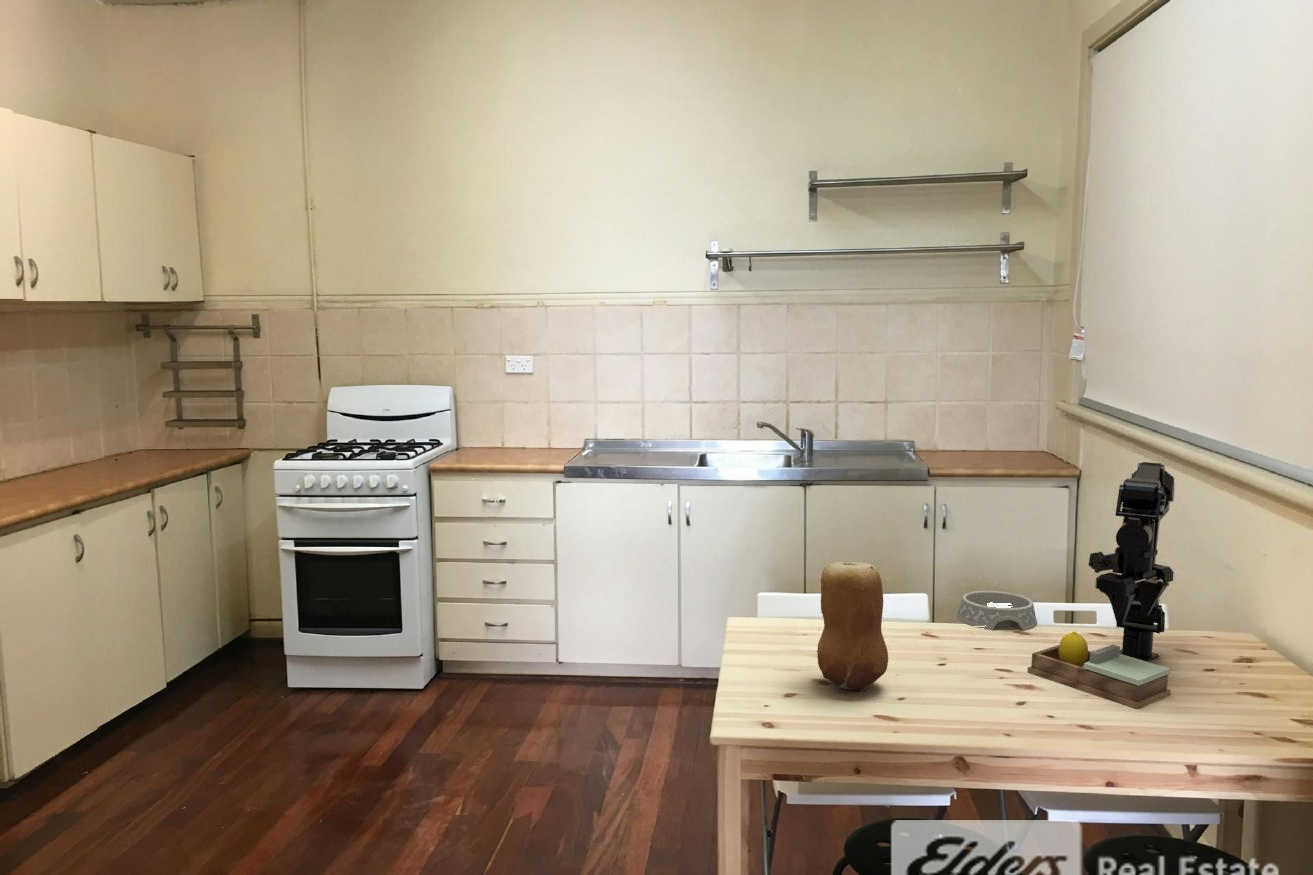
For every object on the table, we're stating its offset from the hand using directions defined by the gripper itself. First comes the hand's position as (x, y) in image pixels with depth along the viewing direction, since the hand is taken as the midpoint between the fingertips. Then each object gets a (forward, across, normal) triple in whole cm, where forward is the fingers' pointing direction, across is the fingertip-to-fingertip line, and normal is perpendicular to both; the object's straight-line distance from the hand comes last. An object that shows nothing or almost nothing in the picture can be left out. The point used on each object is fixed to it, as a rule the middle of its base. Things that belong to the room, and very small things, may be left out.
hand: (1132, 619), depth 198 cm
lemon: (+11, +8, -8) cm, 16 cm away
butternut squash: (+12, +50, -28) cm, 59 cm away
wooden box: (+12, +8, -2) cm, 15 cm away
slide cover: (+8, +8, +4) cm, 12 cm away
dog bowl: (+12, -11, -39) cm, 42 cm away
